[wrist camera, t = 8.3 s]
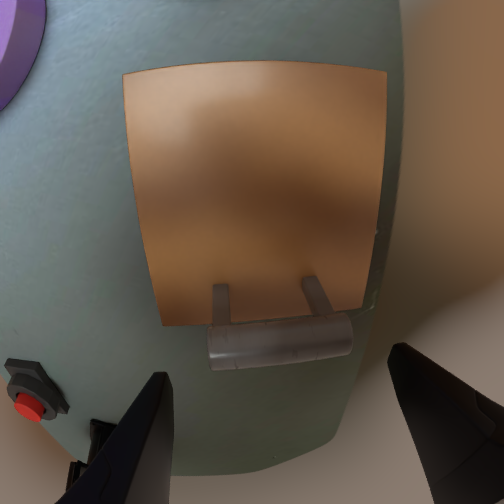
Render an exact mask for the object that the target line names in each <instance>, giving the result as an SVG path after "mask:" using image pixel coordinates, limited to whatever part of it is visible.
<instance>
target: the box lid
mask: <svg viewBox="0 0 504 504" xmlns="http://www.w3.org/2000/svg"><path fill="white" fill-rule="evenodd" d="M122 80H123V97H124V110H125V122H126V132H127V142H128V150H129V158H130V166H131V174H132V181H133V187H134V194H135V200H136V206H137V212H138V218H139V223H140V229H141V234H142V239H143V244H144V249H145V254H146V259H147V263H148V268H149V272H150V277H151V281H152V285H153V289H154V293H155V298H156V302H157V305H158V309H159V313H160V317H161V321H162V324H163V326H183V325H201V324H212V326H209V327H208V328H207V352H208V360H209V366H210V369H211V370H212V371H221V370H235V369H247V368H257V367H267V366H276V365H284V364H292V363H299V362H306V361H313V360H320V359H326V358H332V357H338V356H343V355H348V354H349V353H350V352H351V350H352V347H353V330H352V326H351V322H350V320H349V318H348V316H347V315H346V314H345V313H337V314H336V313H335V311H342V310H349V309H356V308H361V307H362V302H363V298H364V293H365V288H366V283H367V278H368V273H369V268H370V262H371V256H372V251H373V245H374V238H375V232H376V225H377V218H378V210H379V202H380V194H381V185H382V175H383V164H384V151H385V135H386V111H387V72H384V71H378V70H372V69H366V68H359V67H352V66H344V65H335V64H325V63H314V62H298V61H267V60H255V61H223V62H207V63H196V64H186V65H177V66H169V67H162V68H155V69H149V70H143V71H137V72H132V73H127V74H123V75H122ZM311 314H312V315H313V317H306V318H298V319H289V320H280V321H270V322H260V323H249V324H237V325H231V322H243V321H254V320H265V319H275V318H285V317H294V316H303V315H311Z"/></svg>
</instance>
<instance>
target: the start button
mask: <svg viewBox="0 0 504 504" xmlns="http://www.w3.org/2000/svg"><path fill="white" fill-rule="evenodd" d="M14 407H15V408H16V410H17V411H18V412H19V413H20V414H21V415H23V416H24V417H26V418H27V419H29V420H32V421H35V422H39V421H41V418H42V415H43V412H44V409H45V407H44V406H43V405H42V404H41V403H40V402H39V401H37V400H36V399H35V398H33V397H31V396H29V395H28V394H26V393H21V392H20V393H19V394H18V397H17V399H16V402H15V404H14Z"/></svg>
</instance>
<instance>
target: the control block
mask: <svg viewBox="0 0 504 504" xmlns="http://www.w3.org/2000/svg"><path fill="white" fill-rule="evenodd" d="M4 366H5V368H6V369H7V371H8V372H9V374H10V375H11V376H12V377H11V380H10V382H9V384H8V386H7V391H8V395H9V396H10V397H11V399H12V400H13V401H14V402H16V399H17V397H18V394H19V393H20V392H21V393H26V394H28V395H29V396H31V397H33V398H35V399H36V400H37V401H39V402H40V403H41V404H42V405H43V406H44V407H45V409H44V412H43V415H42V418H41V419H45V420H52V419H55V418H56V416H57V413H62V414H67V413H68V410H69V406H68V404H67V403H66V402H65V400H64V399H63V398H62V396H61V395H60V394H59V392H58V391H57V389H56V388H55V386H54V385H53V384H52V382H51V381H50V379H49V378H48V376H47V375H46V373H45V372H44V370H43V369H42V367H41V365H40V364H39V363H38V362H30V361H22V360H15V359H7V361H6V363H5V365H4Z"/></svg>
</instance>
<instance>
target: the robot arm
mask: <svg viewBox="0 0 504 504" xmlns="http://www.w3.org/2000/svg"><path fill="white" fill-rule="evenodd" d="M387 363H388V368H389V371H390V375H391V378H392V382H393V385H394V389H395V392H396V396H397V399H398V402H399V405H400V407H401V409H402V412H403V415H404V417H405V420H406V422H407V425H408V427H409V430H410V433H411V435H412V438H413V441H414V444H415V446H416V449H417V452H418V455H419V458H420V460H421V463H422V466H423V469H424V472H425V475H426V478H427V481H428V484H429V487H430V491H431V494H432V497H433V501H434V504H504V407H503V406H501V405H499V404H497V403H496V402H494V401H492V400H490V399H489V398H487V397H486V396H484V395H482V394H481V393H480V392H478V391H477V390H475V389H474V388H472V387H471V386H469V385H468V384H466V383H465V382H463V381H462V380H460V379H459V378H457V377H456V376H454V375H453V374H451V373H450V372H448V371H447V370H445V369H444V368H442V367H441V366H439V365H438V364H436V363H435V362H434V361H432V360H431V359H429V358H428V357H426V356H424V355H423V354H422V353H420V352H419V351H417V350H415V349H414V348H413V347H411V346H410V345H408V344H407V343H404V342H402V343H397V344H394V345H393V347H392V349H391V352H390V355H389V357H388V361H387ZM90 435H91V446H90V451H89V456H88V461H87V464H85V463H83V462H82V461H79V460H78V461H77V462H71V463H70V467H69V472H68V478H67V485H66V492H65V494H64V495H63V496H62V497H61V498H60V499H59V500H58V501H57V502H56V503H55V504H169V490H170V476H171V462H172V450H173V439H174V411H173V387H172V384H171V382H170V379H169V376H168V374H167V372H154V373H153V375H152V376H151V377H150V379H149V380H148V382H147V383H146V384H145V386H144V387H143V389H142V390H141V392H140V393H139V395H138V396H137V397H136V399H135V400H134V402H133V403H132V405H131V406H130V407H129V409H128V410H127V412H126V413H125V415H124V416H123V418H122V419H121V420H120V422H119V423H118V425H117V426H116V427H115V426H112V425H109V424H105V423H102V422H99V421H96V420H91V422H90ZM80 475H81V476H80Z"/></svg>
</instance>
